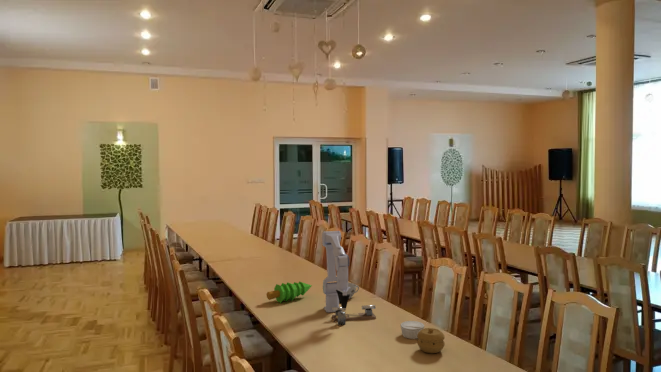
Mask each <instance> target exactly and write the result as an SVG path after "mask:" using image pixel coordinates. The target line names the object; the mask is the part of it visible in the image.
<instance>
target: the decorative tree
mask: <svg viewBox="0 0 661 372" xmlns="http://www.w3.org/2000/svg"><path fill="white" fill-rule="evenodd" d="M312 287H313V285H311V284H308V283H305V282H302V281H298V282H295V281H294V282H293V283H292V282H286V283H283V282H282V283H281V284H277V283H276V285H275V286H274V288H273V289H274V290H271V291H267V293H265V295H266V298H267V300H269V301H271V300H274V299H275V300H276V301H278V303H279V302H280V303H279V304H281V303H282V302H287V301H293V300H294V299H296V297H300V295H301V296H304V295H305V294H306V293H307V292H308V291H309V289H311V288H312Z"/></svg>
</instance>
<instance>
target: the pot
mask: <svg viewBox="0 0 661 372" xmlns="http://www.w3.org/2000/svg"><path fill="white" fill-rule="evenodd" d="M417 337H418V339H416V340H417V341H416V343H417V346H418V347H419V349H420V350H421V351H422V352H424V353H427V354H436V353H439V352H441V351H442V350H443V349H444V347H445V344H446V343H445V341H444V340H445V334H444V332H442V331H441V330H439V329H438V328H433V327H426V328H425V327H424V329H422V330H420V331H419V332H418V334H417Z"/></svg>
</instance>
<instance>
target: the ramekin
mask: <svg viewBox="0 0 661 372" xmlns="http://www.w3.org/2000/svg"><path fill="white" fill-rule="evenodd" d="M399 327H400V329H401V334H402V336H403V338H406V339H408V340H409V339H411V340H418V339H419V338H418V337H417V334H418V332H419V331H420V330H422V329H425V324H424V323H422V322H421V321H418V320H417V321H416V320H407V321H406V320H405V321H403V322H401V323H400V326H399Z"/></svg>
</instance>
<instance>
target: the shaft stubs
mask: <svg viewBox="0 0 661 372" xmlns="http://www.w3.org/2000/svg"><path fill="white" fill-rule="evenodd" d="M375 309H376V304H369V305H361V310H364V313H365V314H366V316H372V312H373V310H375ZM346 310H347V307H346V308H342V306H339V307H332V311H335V312H334V313H335V314H334V315H335V316H338V312H339V311H344V312H346Z"/></svg>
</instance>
